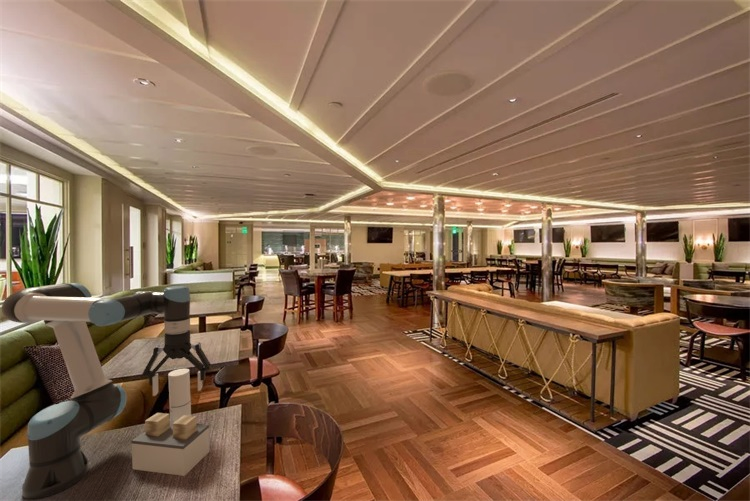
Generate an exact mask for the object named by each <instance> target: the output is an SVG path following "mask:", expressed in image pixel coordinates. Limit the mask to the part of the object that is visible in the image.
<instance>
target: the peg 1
mask: <svg viewBox="0 0 750 501" xmlns="http://www.w3.org/2000/svg"><path fill="white" fill-rule="evenodd" d="M144 425H145V426H144V428H145V431H146V435H148V436H157V437H158V436H160V435H161V434H162V433H164V432H165V431H167V430H168V429H169V428H170V413H167V412H165V413H163V412H156V413H155V414H153V415H152V416H150V417H148V418H147V419H146V420H145V421H144Z"/></svg>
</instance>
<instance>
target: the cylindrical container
mask: <svg viewBox="0 0 750 501" xmlns="http://www.w3.org/2000/svg"><path fill="white" fill-rule="evenodd" d="M190 375H191V374H190V369H189V368H179V369H174V370H171V371H170V372H168V375H167V376H168V392H169V393H168V399H169V400H168V403H169V416H170V421H177V420H178V419H179V418H181V417H182V416H184V415H187V416H192V406H191V405H192V404H191V401H192V399H191V380H190V379H191V377H190Z"/></svg>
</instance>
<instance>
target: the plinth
mask: <svg viewBox="0 0 750 501" xmlns="http://www.w3.org/2000/svg"><path fill="white" fill-rule="evenodd" d="M174 422H175V421H170V428H169V429H168V430H167V431H165V432H164V433H162V434H161V435H160V436H158V437H157V436H148V435H146V430H145V431H143V432H142V433H140V434H139V435H137V436H136V437H135V438H133V439H131V440H130V441H131V462H132V470H135V471H143V472H152V473H158V474H165V475H166V474H167V475H173V476H174V475H175V476H182V477H185V476H186V475H187V474H188V473H190V471H191V470H192V469H193V468H194V467H195V466H196V465H197V464H199V462H200V461H201V460H203V459H204V458H205V457H206V456H207V455H208V454H209V453H210V450H211V447H210V428H209V427H210V425H209V424H205V423H204V424H203V423H197V431H196V432H195V433H194V434H192V435H191V436H190V437H189V438H188V439H186V440H185V439H176V438H173V423H174Z"/></svg>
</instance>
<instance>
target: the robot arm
mask: <svg viewBox="0 0 750 501" xmlns="http://www.w3.org/2000/svg"><path fill="white" fill-rule="evenodd" d="M190 294H191V293H190V288H189V287H188V286H186V285H174V286H173V285H171V286H167V287H165V288H164V289H163V291H155V290H154V291H153V290H140V291H136V292H135V293H133V294H130V295H125V296H121V297H119V296H118V297H92V294H91V292H90V290H89V289H88V288H87V287H86V286H84V285H83V284H80V283H77V282H68V283H66V282H62V283H58V284H57V283H56V284H49V285H43V286H41V285H40V286H35V287H34V286H33V287H26V288H22V289H20V290H19V289H18V290H17V291H14V292H13V293H11V294H10V295H8V296H7V297H6V298H5V299H4V301H3V302H2V305H1V313H2V314H3V316H4V317H5V318H6V319H7V320H9V321H11V322H14V323H19V324H20V323H21V324H35V323H38V322H41V321H43V322H44V325H45V326H46V327H49V328H52V329H53V332H54V335H55V339H56V341H57V344H58V346H59V347H58V348H59V349H60V352H61V354H62V358H63V360H64V364H65V366H66V369H67V371H68V375H69V378H70V380H71V383H72V387H73V389H74V392H73V393H72V395H71V396H70V399H71V400H65V401H60V402H59V403H57V404H56V403H54V404H51V405H49V406H47V407H45V408H43V409H42V410H39V412H37V413H36V414H34V415H33V416H32V417H31V418H30V420H28V421H29V422H28V423H27V432H26V437H27V443H28V460H29V468H28V471H27V472H26V476H25V479H24V482H23V484H22V488H21V489H22V496H23V498H24V499H28V500H37V499H41V498H42V499H43V498H46V497H50V496H52V495H55V494H57V493H61V492H62V491H64V490H66V489H68V488H70V487H72V486H74V485H75V484H76V483H78V482H79V481H81V480H82V479H83V478H84V477H86V475H87V473H88V472H89V470H90V466H89V465H90V464H89V460H88V458H87V456H86V455H85V452H84V451H83V449H82V444H81V438H82V437H83V436H84V435H85V436H86V435H87V434H88V433H90V432H92V431H94V430H95V429H97V428H99V427H101V426H103V425H104V424H106V423H108V422H110V421H112V420H113V419H114V418H116V417H117V416H119V415H120V414H121V413H123V411H124V409H125V407H126V404H127V399H128V398H127V392H126V391H125V389H124V387H121V385H120V384H115V383H113V380H112V379H109V378H106V375H105V372H104V370H103V367H102V365H101V362H100V358H99V356H98V353H97V350H96V347H95V345H94V341H93V338H92V336H91V333H90V331H89V328H88V325H87V323H91V324H94V325H95V326H97V327H105V326H112V325H116V324H118V323H121V322H124V321H129V320H132V319H136V318H140V317H144V316H147V315H151V314H161V315H164V316H163V317H164V318H163V320H164V323H163V324H164V325H163V326H164V332H165V333H164V346H161V345H156V346H155V347H154V348H153V351H152V355H151V357H150V359H149V361H148V362H147V364H146V366H145V368H144V370H143V372H142V376H147V377H148V380H149V382H148V383H149V386H150V387H151V386H152V397H155V396H157V394H158V393H159V373H157V372H158V371H159V369H161V367H162V366H164V364H165V363H166V362H167V361H168V360H169V359H171V360H176V359H183V358H184V359H185V360H187V361H188V362H190V363H191V364H192V365H193V366H194V368H196V370H198V371H197V392H201V390H202V388H203V381H204V380H205V379H206V371H208V370H210V368H211V367H212V364H211V362H210V360H209V358H208V357H207V355H206V354H205V352H204V351H203V349H202V345H201V344H202V343H201V342H197V343H194V344H192V343H191V331H190V329H191V314H190V313H191V311H190V310H191V295H190ZM191 349H193V350H194V352H195V353H196V354H197V356H198V358H197V357H196V356H195V355H193V353H192V351H191ZM162 351H163V353H165V356H164V357H163V358H162V359H161V361H160V362H159V363H157V365H156V366H155V367H154V368H153V366H154V364H155V362H156V360H157V359H158V356H160V355H159V354H161V353H162ZM152 368H153V369H152ZM151 369H152V370H151Z"/></svg>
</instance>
